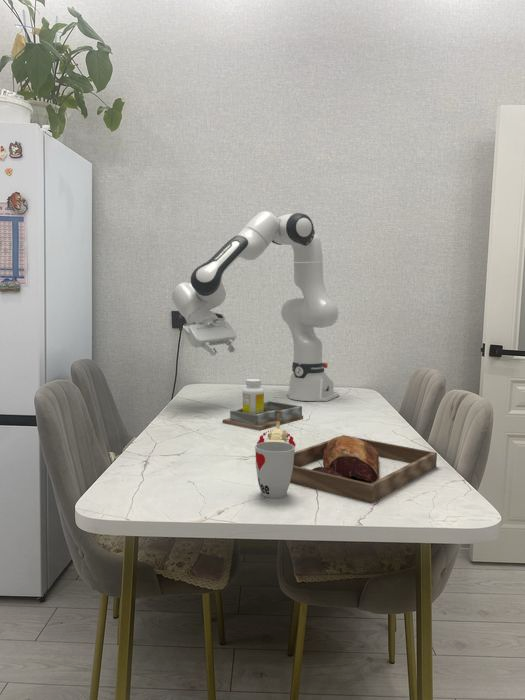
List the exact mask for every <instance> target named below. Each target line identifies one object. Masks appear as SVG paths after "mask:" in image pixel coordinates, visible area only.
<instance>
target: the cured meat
mask: <svg viewBox="0 0 525 700" xmlns="http://www.w3.org/2000/svg"><path fill="white" fill-rule="evenodd" d="M348 436H350V435H345V436H343V435H339V436H336V437H333V438H331V439H329V442H328V443H327V448H325V449H324V456H323V458H322V465H323V466H317V467H313V468H312V469H311V470H314V471H319V472H323V473H327V474H331V475H335V476H340V477H344V478H348V479H351V477H352V476H353V477H355V478H357V479H360V480H364V481H367V482H368V483H369V484H371V483H373V482H375V481H377V480H379V479H380V477H379V476H380V475H379V474H380V473H379V470H380V463H379V462H380V458H379V457H380V456H378V453H377V452H376V450H375V449H374V448H373V447H372V446H371V445H369V444H368V443H366V442H364V441H362V440H360V439H358V438H359V437H356V436H350V437H348Z"/></svg>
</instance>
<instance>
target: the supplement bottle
mask: <svg viewBox="0 0 525 700" xmlns="http://www.w3.org/2000/svg"><path fill="white" fill-rule="evenodd" d="M261 384H262V380H261V379H258V378H248V379H246V380H245V385H246V387H244V388H243V390H242V408H243V413H249V414H254V415H257V414H261V413H264V402H265V391H264V388H262V387H261Z"/></svg>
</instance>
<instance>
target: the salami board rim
mask: <svg viewBox="0 0 525 700" xmlns="http://www.w3.org/2000/svg"><path fill="white" fill-rule="evenodd" d="M342 436H346V435H345V434H344V435H342ZM347 436H348V437H350V435H347ZM357 438H358V439H360V440H362V441H364V442H366V443H368V444H369V445H371V446H372V447H373V448H374V449H375V450H376V452H377V453H378V456H379V457H381V458H386V459H390V460H394V461H398V462H399V461H400V462H404V463H405V462H406V463H408V464H407V465H405V466H403V467H401V468H399V469H397V470H395V471H393V472H391V473H389V474H387V475H385V476H383V477H381V478H379V479H378V480H377V481H375V482H373V483H370V482H364V481H360V480H355V479H352V478H350V479H348V478H344V477H340V476H335V475H331V474H327V473H323V472H319V471H314V470H312V469H309V468H306V467H302V466H304V465H307V464H309V463H313V462H315V461H318V460H320V459H323V456H324V449H325V448H327V443H328V442H329V440H330V439H329V440H326V441H325V440H324V441H323V442H320V443H317V444H314V445H312V446H308V447H305V448H302V449H300V450H297V451H294V462H293V470H292V475H291V480H290V483H292V484H296V485H300V486H305V487H308V488H312V489H317V490H319V491H324V492H328V493H331V494H335V495H338V496H342V497H346V498H350V499H354V500H358V501H363V502H366V503H370V504H373V503H374V502H375V503H376V502H377V501H379V499H382V498H384V497H386V496H387V495H389V494H391V493H392V492H395V491H396V490H398V489H400V488H401V487H403V486H406V485H407V484H408V483H410V482H412V481H414V480H416V479H417V478H419V477H421V476H422V475H424V474H426V473H428V472H429V471H432V470H433V469H435V468H437V463H438V462H437V456H438V453H437V452H436V451H429V450H425V449H419V448H415V447H410V446H409V447H408V446H404V445H399V444H398V445H397V444H394V443H393V444H391V443H387V442H382V441H376V440H371V439H366V438H361V437H357Z"/></svg>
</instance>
